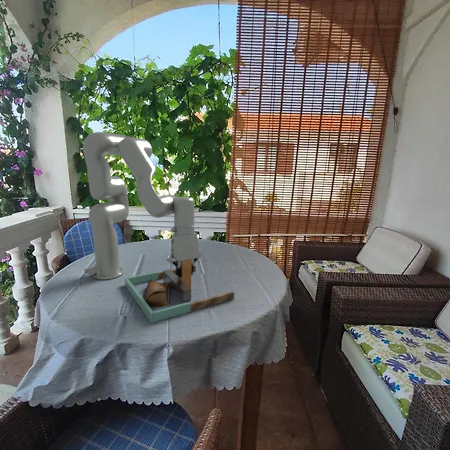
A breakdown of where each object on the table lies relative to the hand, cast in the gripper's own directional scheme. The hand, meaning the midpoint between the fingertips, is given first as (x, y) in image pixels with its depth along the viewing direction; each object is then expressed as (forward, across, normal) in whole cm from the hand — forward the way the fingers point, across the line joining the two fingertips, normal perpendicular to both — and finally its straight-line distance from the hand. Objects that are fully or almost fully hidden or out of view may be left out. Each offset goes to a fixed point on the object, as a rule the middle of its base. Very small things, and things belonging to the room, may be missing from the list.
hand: (184, 274), depth 112 cm
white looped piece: (+7, +15, +37) cm, 40 cm away
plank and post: (+6, -1, +1) cm, 6 cm away
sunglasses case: (+7, -11, 0) cm, 13 cm away
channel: (+6, +3, 0) cm, 7 cm away
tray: (+6, -12, 0) cm, 14 cm away
